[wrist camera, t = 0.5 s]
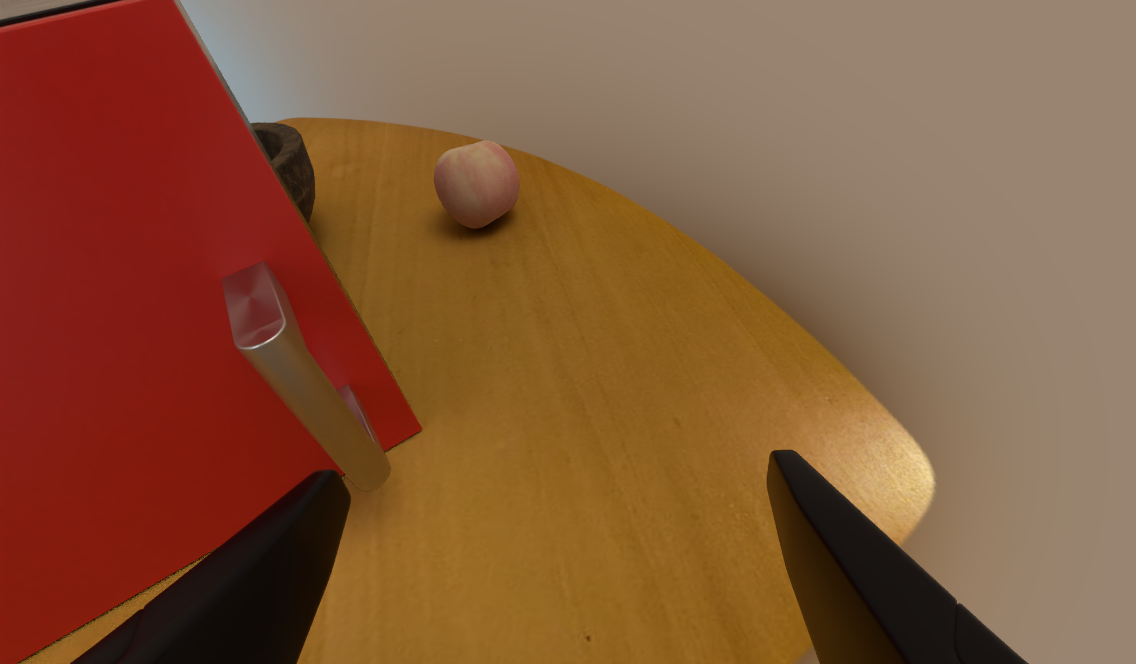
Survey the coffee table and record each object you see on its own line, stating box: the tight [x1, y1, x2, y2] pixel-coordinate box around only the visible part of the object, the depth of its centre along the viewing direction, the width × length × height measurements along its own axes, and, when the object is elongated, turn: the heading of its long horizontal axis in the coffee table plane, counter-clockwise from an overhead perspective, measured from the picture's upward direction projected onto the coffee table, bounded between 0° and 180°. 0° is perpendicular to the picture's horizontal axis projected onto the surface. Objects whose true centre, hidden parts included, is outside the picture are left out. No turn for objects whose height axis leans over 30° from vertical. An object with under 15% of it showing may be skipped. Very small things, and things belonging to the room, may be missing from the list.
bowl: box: [250, 123, 315, 223], centre depth 47 cm, size 22×22×10 cm
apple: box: [434, 140, 519, 229], centre depth 47 cm, size 8×8×8 cm
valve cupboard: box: [0, 0, 416, 417], centre depth 26 cm, size 18×26×24 cm
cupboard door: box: [0, 0, 422, 664], centre depth 18 cm, size 7×26×24 cm, turn 124°
